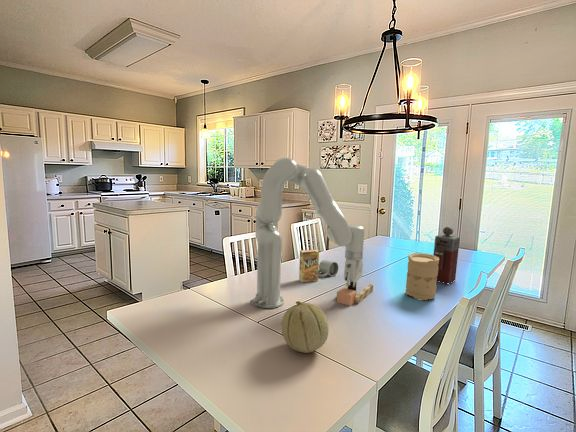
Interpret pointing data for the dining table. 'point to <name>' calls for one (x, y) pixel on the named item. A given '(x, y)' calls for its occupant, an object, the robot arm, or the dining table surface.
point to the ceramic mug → (328, 268)
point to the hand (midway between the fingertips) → (351, 294)
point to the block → (346, 296)
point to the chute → (361, 293)
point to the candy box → (308, 265)
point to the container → (422, 276)
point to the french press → (446, 255)
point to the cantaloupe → (305, 327)
